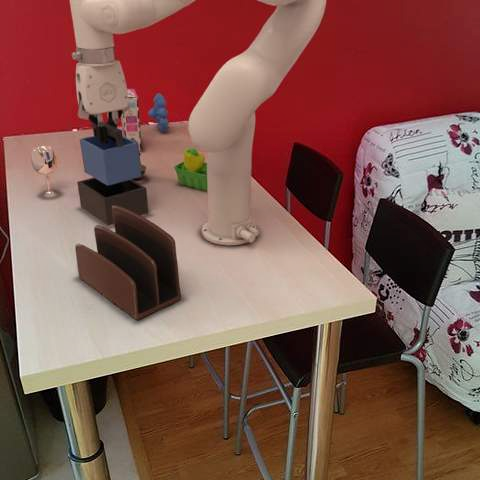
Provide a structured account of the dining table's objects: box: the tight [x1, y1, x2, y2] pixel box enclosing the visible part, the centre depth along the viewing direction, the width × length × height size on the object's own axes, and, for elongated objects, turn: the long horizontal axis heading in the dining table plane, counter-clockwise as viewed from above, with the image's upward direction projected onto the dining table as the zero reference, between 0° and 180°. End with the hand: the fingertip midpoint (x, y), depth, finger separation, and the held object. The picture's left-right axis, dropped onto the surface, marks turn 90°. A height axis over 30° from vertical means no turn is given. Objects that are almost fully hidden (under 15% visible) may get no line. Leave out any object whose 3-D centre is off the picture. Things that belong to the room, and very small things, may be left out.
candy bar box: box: [120, 88, 143, 152], centre depth 176 cm, size 11×5×16 cm, turn 17°
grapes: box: [147, 92, 170, 133], centre depth 191 cm, size 12×7×12 cm, turn 22°
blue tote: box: [79, 121, 142, 186], centre depth 131 cm, size 11×9×12 cm
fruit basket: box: [173, 147, 208, 192], centre depth 152 cm, size 11×9×11 cm
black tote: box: [77, 177, 149, 226], centre depth 137 cm, size 13×11×7 cm
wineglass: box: [30, 145, 58, 195], centre depth 143 cm, size 6×6×12 cm
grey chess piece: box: [132, 137, 147, 181], centre depth 153 cm, size 6×6×12 cm
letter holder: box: [74, 205, 182, 321], centre depth 107 cm, size 10×20×14 cm, turn 46°
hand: (108, 141), depth 130 cm, fingers closed on blue tote
